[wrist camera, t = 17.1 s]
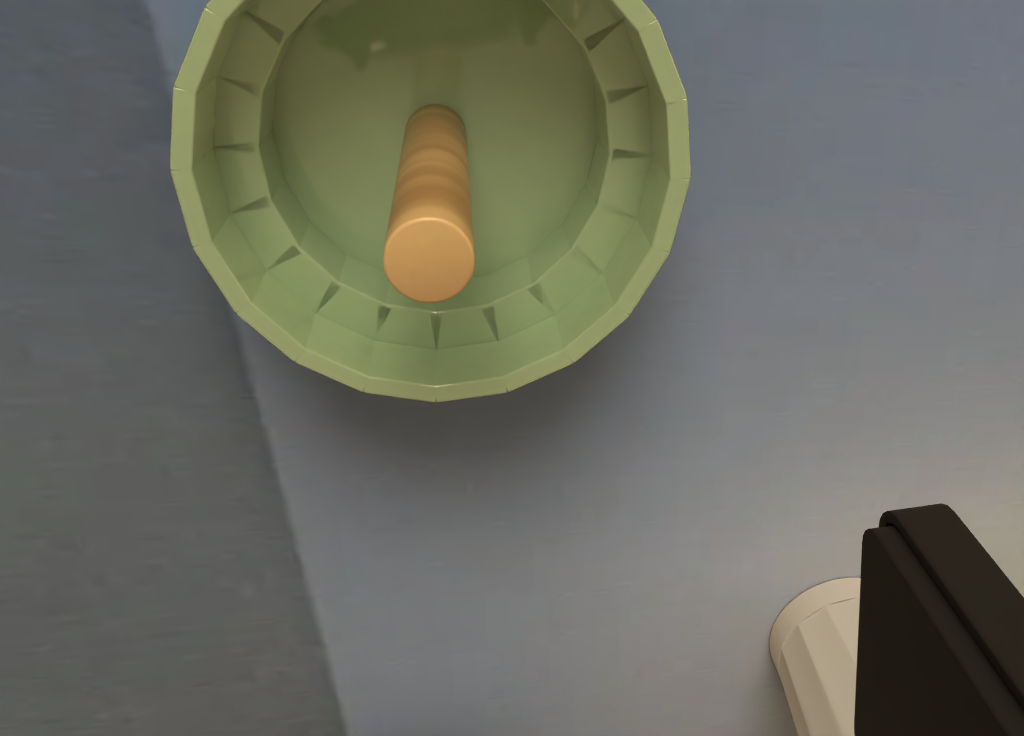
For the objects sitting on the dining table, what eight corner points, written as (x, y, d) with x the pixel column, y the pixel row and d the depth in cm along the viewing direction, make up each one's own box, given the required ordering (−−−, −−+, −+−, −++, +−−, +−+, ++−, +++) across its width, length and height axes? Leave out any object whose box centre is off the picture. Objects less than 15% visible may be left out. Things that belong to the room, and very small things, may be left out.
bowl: (233, -160, 28) (182, -169, 23) (699, -61, 30) (753, -48, 25) (206, 290, 34) (161, 365, 29) (596, 349, 36) (622, 429, 31)
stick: (399, 107, 31) (374, 224, 21) (461, 99, 31) (468, 211, 21) (410, 168, 32) (391, 310, 22) (470, 160, 32) (481, 298, 22)
